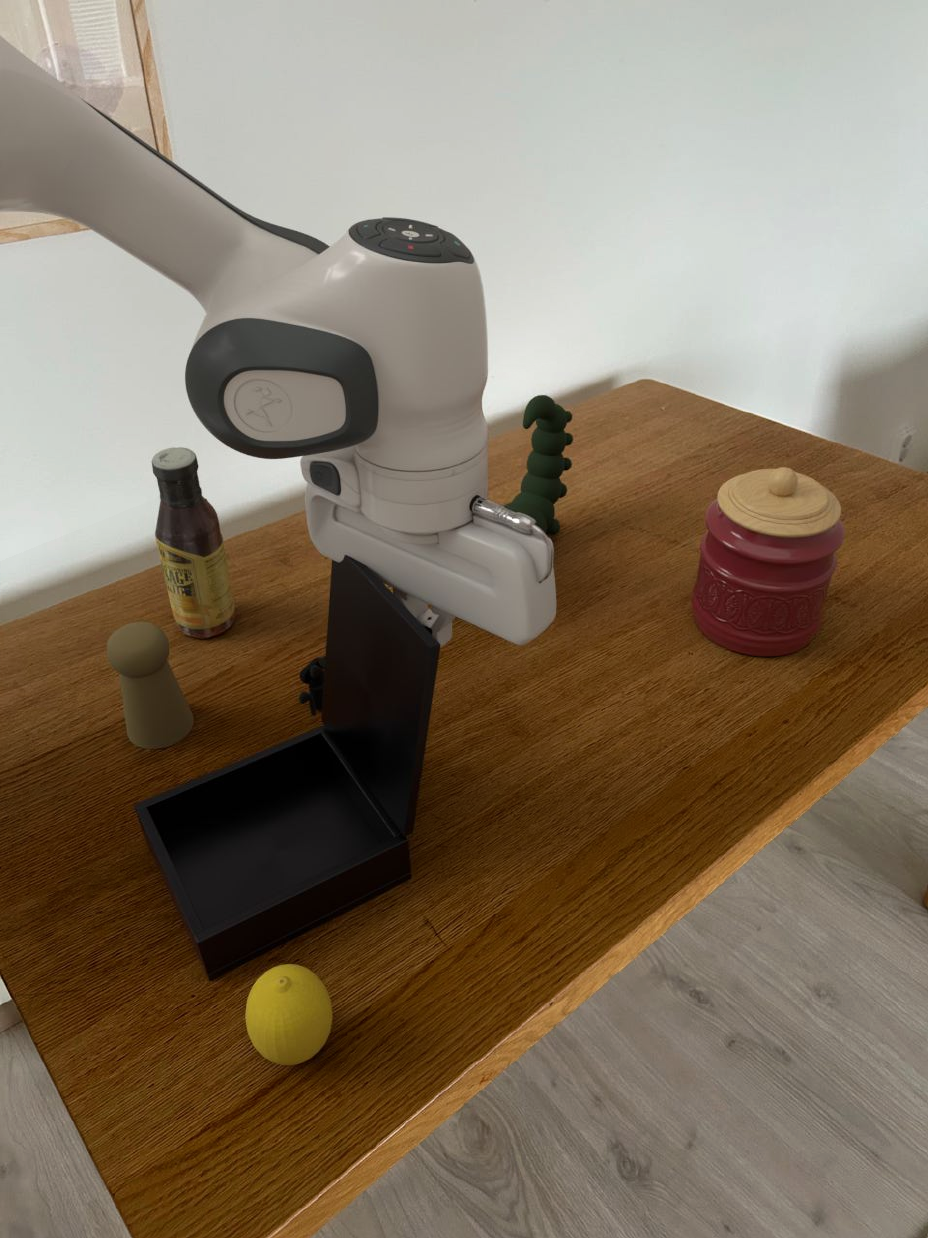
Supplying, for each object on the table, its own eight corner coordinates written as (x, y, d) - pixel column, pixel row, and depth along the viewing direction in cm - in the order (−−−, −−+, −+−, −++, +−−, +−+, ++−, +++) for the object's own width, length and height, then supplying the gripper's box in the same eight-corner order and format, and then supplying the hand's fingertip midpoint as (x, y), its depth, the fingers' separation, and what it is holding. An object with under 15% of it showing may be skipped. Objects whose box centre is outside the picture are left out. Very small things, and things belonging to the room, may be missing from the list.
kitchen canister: (719, 668, 95) (750, 515, 84) (670, 590, 105) (692, 444, 94) (842, 649, 97) (887, 496, 86) (783, 574, 107) (816, 429, 96)
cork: (132, 757, 87) (102, 664, 80) (122, 714, 92) (92, 622, 85) (200, 736, 89) (176, 644, 82) (186, 695, 94) (162, 604, 87)
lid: (430, 646, 64) (441, 644, 64) (332, 541, 73) (342, 539, 74) (404, 837, 73) (413, 834, 74) (320, 721, 83) (329, 718, 83)
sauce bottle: (165, 622, 102) (121, 454, 90) (217, 597, 106) (181, 431, 93) (198, 652, 99) (157, 480, 86) (251, 625, 102) (218, 456, 89)
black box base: (209, 982, 70) (197, 943, 67) (146, 843, 80) (133, 804, 77) (412, 878, 77) (408, 839, 74) (331, 762, 86) (325, 723, 83)
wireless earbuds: (309, 728, 90) (303, 687, 87) (287, 718, 91) (280, 678, 88) (354, 683, 95) (349, 643, 91) (333, 674, 96) (327, 634, 92)
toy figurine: (513, 523, 119) (402, 621, 101) (523, 372, 108) (401, 451, 90) (584, 544, 115) (482, 649, 97) (601, 390, 105) (491, 476, 87)
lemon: (275, 1103, 63) (257, 1039, 58) (243, 1034, 67) (223, 968, 62) (352, 1058, 65) (340, 993, 60) (316, 994, 69) (303, 927, 64)
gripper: (580, 504, 62) (569, 668, 71) (343, 418, 72) (359, 571, 81) (524, 550, 58) (520, 717, 67) (281, 452, 68) (305, 609, 77)
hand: (430, 636), depth 74 cm, fingers closed
